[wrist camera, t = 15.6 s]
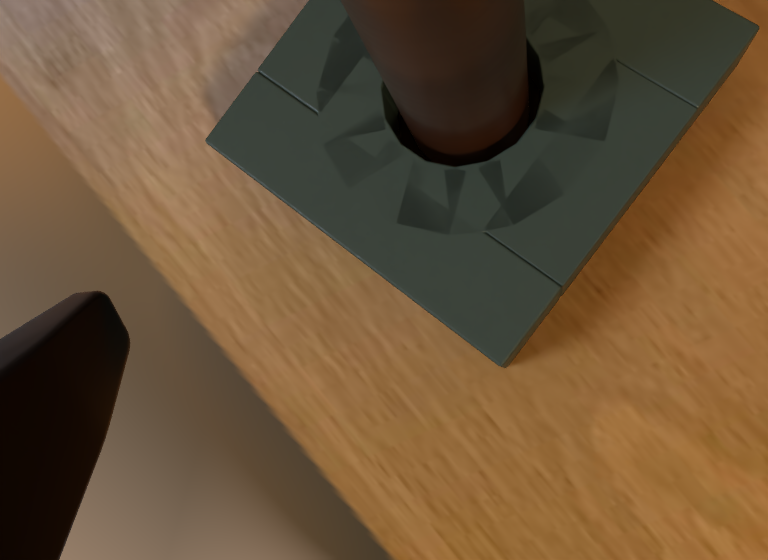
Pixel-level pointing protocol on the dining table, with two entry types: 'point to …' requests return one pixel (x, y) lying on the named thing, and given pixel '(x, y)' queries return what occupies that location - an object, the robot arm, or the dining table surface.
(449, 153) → the dowel
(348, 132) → the board
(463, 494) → the dining table surface
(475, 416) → the dining table surface
